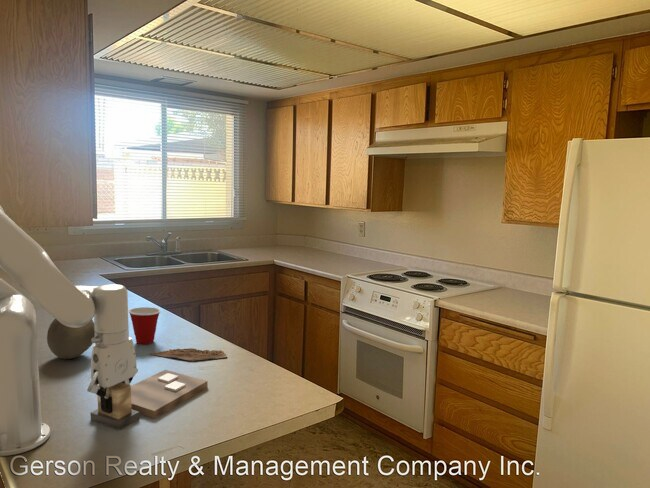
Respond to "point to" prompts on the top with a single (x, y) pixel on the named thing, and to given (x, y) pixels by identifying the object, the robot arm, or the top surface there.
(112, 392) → the block
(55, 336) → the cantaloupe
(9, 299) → the robot arm
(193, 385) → the board
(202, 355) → the wooden fragment
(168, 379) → the tile
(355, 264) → the top surface
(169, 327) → the top surface
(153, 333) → the plastic cup
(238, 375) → the top surface
